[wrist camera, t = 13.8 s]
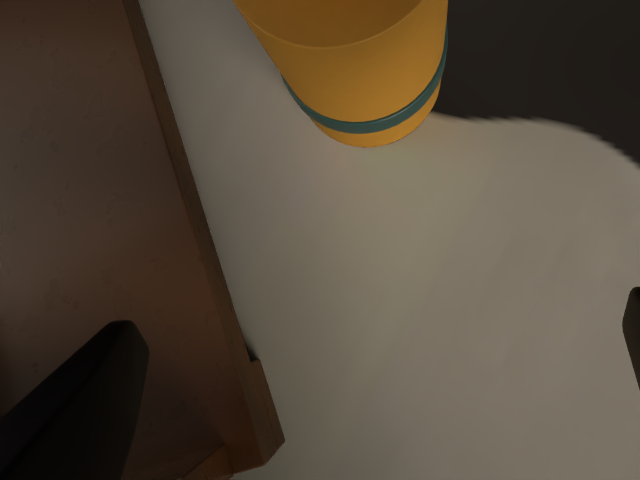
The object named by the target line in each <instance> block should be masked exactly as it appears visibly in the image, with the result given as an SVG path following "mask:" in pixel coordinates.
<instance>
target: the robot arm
mask: <svg viewBox="0 0 640 480" xmlns="http://www.w3.org/2000/svg"><path fill="white" fill-rule="evenodd" d="M622 327H623V333H624V337H625V341H626V344H627V348H628V351H629V355H630V358H631V361H632V365H633V368H634V372H635V375H636V379H637V382H638V386H639V389H640V287H635V288H633V289H632V290H631V291H630V294H629V297H628V301H627V305H626V309H625V313H624V317H623V322H622ZM148 363H149V348H148V345H147V343H146V341H145V340H144V338H143V336H142V335H141V333H140V331H139V330H138V328H137V326H136V325H135V323H134V322H132V321H131V320H118V321H111V322H109V323H108V324H106V325H105V326H104V327H103V328H102V329H101V330H100V331H99V332H97V333H96V334H95V335H94V336H93V337H92V338H91V339H90V340H88V341H87V342H86V343H85V344H84V345H83V346H82V347H81V348H79V349H78V350H77V351H76V352H75V353H74V354H73V355H72V356H70V357H69V358H68V359H67V360H66V361H65V362H64V363H62V364H61V365H60V366H59V367H58V368H57V369H56V370H55V371H53V372H52V373H51V374H50V375H49V376H48V377H47V378H46V379H44V380H43V381H42V382H41V383H40V384H39V385H38V386H37V387H35V388H34V389H33V390H32V391H31V392H30V393H29V394H28V395H26V396H25V397H24V398H23V399H22V400H21V401H20V402H19V403H17V404H16V405H15V406H14V407H13V408H12V409H11V410H10V411H8V412H7V413H6V414H5V415H4V416H3V417H2V418H1V419H0V480H121V478H122V475H123V472H124V468H125V465H126V462H127V458H128V455H129V451H130V448H131V445H132V441H133V438H134V434H135V430H136V426H137V421H138V417H139V411H140V406H141V400H142V395H143V390H144V384H145V379H146V373H147V368H148Z"/></svg>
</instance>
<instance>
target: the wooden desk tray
mask: <svg viewBox="0 0 640 480" xmlns="http://www.w3.org/2000/svg"><path fill="white" fill-rule="evenodd" d="M118 320H131V321H132V322H134V323H135V325H136V326H137V328H138V330H139V331H140V333H141V335H142V336H143V338H144V340H145V341H146V343H147V345H148V348H149V363H148V368H147V373H146V379H145V384H144V390H143V395H142V400H141V406H140V411H139V417H138V421H137V426H136V430H135V434H134V438H133V441H132V445H131V448H130V451H129V455H128V458H127V462H126V465H125V468H124V472H123V475H122V478H121V480H229V479H230V478H231V477H232V476H233V475H234V474H237V473H241V472H244V471H247V470H250V469H254V468H257V467H260V466H264V465H265V464H266V463H267V462H268V461H269V460H270V458H271V457H272V456H273V455H274V454H275V453H276V452H277V450H278V449H279V448H280V446H281V445H282V444H283V443H284V442H285V438H284V435H283V432H282V429H281V425H280V422H279V419H278V416H277V413H276V410H275V406H274V403H273V400H272V397H271V394H270V390H269V387H268V384H267V381H266V378H265V375H264V371H263V368H262V365H261V362H260V360H259V359H255V360H252V361H250V358H249V355H248V352H247V349H246V346H245V342H244V339H243V336H242V333H241V330H240V326H239V323H238V320H237V317H236V314H235V310H234V307H233V304H232V301H231V297H230V294H229V291H228V288H227V285H226V281H225V278H224V275H223V272H222V269H221V265H220V262H219V259H218V256H217V252H216V249H215V246H214V243H213V240H212V236H211V233H210V230H209V227H208V224H207V220H206V217H205V214H204V211H203V208H202V204H201V201H200V198H199V195H198V191H197V188H196V185H195V182H194V179H193V175H192V172H191V169H190V166H189V163H188V159H187V156H186V153H185V150H184V146H183V143H182V140H181V137H180V134H179V130H178V127H177V124H176V121H175V118H174V114H173V111H172V108H171V105H170V102H169V98H168V95H167V92H166V89H165V85H164V82H163V79H162V76H161V73H160V69H159V66H158V63H157V60H156V57H155V53H154V50H153V47H152V44H151V40H150V37H149V34H148V31H147V28H146V24H145V21H144V18H143V15H142V12H141V8H140V5H139V2H138V0H0V419H1V418H2V417H3V416H4V415H5V414H6V413H7V412H8V411H10V410H11V409H12V408H13V407H14V406H15V405H16V404H17V403H19V402H20V401H21V400H22V399H23V398H24V397H25V396H26V395H28V394H29V393H30V392H31V391H32V390H33V389H34V388H35V387H37V386H38V385H39V384H40V383H41V382H42V381H43V380H44V379H46V378H47V377H48V376H49V375H50V374H51V373H52V372H53V371H55V370H56V369H57V368H58V367H59V366H60V365H61V364H62V363H64V362H65V361H66V360H67V359H68V358H69V357H70V356H72V355H73V354H74V353H75V352H76V351H77V350H78V349H79V348H81V347H82V346H83V345H84V344H85V343H86V342H87V341H88V340H90V339H91V338H92V337H93V336H94V335H95V334H96V333H97V332H99V331H100V330H101V329H102V328H103V327H104V326H105V325H106V324H108V323H109V322H111V321H118Z"/></svg>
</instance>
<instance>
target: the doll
mask: <svg viewBox="0 0 640 480" xmlns="http://www.w3.org/2000/svg"><path fill="white" fill-rule="evenodd" d="M233 2H234V3H235V5H236V7H237V8H238V10H239V11H240V13H241V14H242V16H243V17H244V19H245V20H246V22H247V23H248V25H249V26H250V28H251V29H252V31H253V32H254V34H255V35H256V37H257V38H258V40H259V41H260V43H261V44H262V46H263V47H264V49H265V50H266V52H267V53H268V55H269V56H270V58H271V59H272V61H273V62H274V64H275V65H276V67H277V68H278V70H279V71H280V73H281V76H282V78H283V81H284V83H285V85H286V87H287V88H288V90H289V92H290V93H291V95H292V96H293V98H294V99H295V101H296V102H297V103H298V105H299V106H300V107H301V109H302V110H303V111H304V112H305V113H306V114H307V115H308V116H310V118H311V119H312V120H313V122H314V123H315V124H316V125H317V126H318V127H319V128H320V129H321V130H322V131H323V132H324V133H325V134H327V135H328V136H329V137H331V138H333V139H335V140H337V141H339V142H341V143H344V144H347V145H351V146H357V147H376V146H382V145H385V144H389V143H392V142H394V141H397V140H399V139H401V138H403V137H404V136H406V135H408V134H409V133H410V132H412V131H413V130H414V129H416V128H417V127H418V126H419V125H420V124H421V123H422V122H423V120H424V119H425V118H426V117H427V115H428V114H429V112H430V111H431V109H432V107H433V105H434V103H435V101H436V99H437V96H438V92H439V89H440V82H441V77H442V74H443V70H444V67H445V61H446V54H447V45H448V28H447V21H446V19H447V7H448V0H233Z"/></svg>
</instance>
